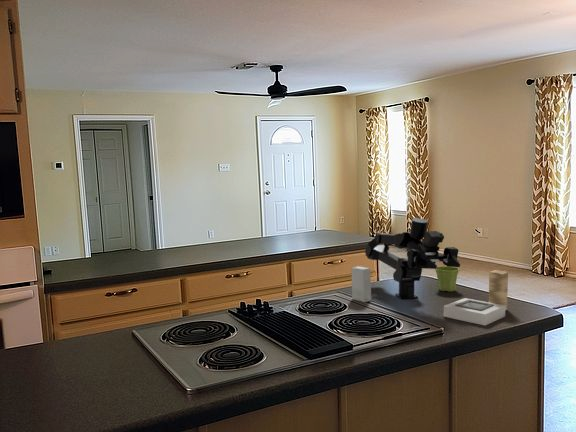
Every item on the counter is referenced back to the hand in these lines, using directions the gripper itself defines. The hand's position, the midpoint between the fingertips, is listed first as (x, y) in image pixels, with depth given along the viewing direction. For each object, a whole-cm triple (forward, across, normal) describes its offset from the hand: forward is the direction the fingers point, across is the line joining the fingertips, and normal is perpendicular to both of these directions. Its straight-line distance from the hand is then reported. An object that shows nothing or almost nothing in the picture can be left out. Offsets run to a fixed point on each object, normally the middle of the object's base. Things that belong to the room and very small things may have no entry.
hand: (448, 266), depth 168 cm
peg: (+6, +19, +14) cm, 25 cm away
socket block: (+9, +7, +14) cm, 18 cm away
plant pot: (-24, +21, +21) cm, 38 cm away
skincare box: (-23, -17, +22) cm, 36 cm away
